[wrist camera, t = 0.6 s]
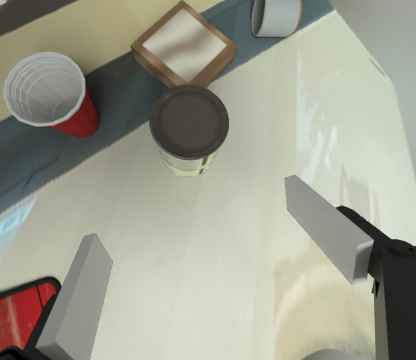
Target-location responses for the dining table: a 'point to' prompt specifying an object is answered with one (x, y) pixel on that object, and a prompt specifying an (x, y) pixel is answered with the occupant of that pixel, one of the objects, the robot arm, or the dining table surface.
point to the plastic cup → (50, 94)
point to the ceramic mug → (275, 17)
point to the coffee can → (188, 128)
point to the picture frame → (183, 49)
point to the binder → (23, 310)
